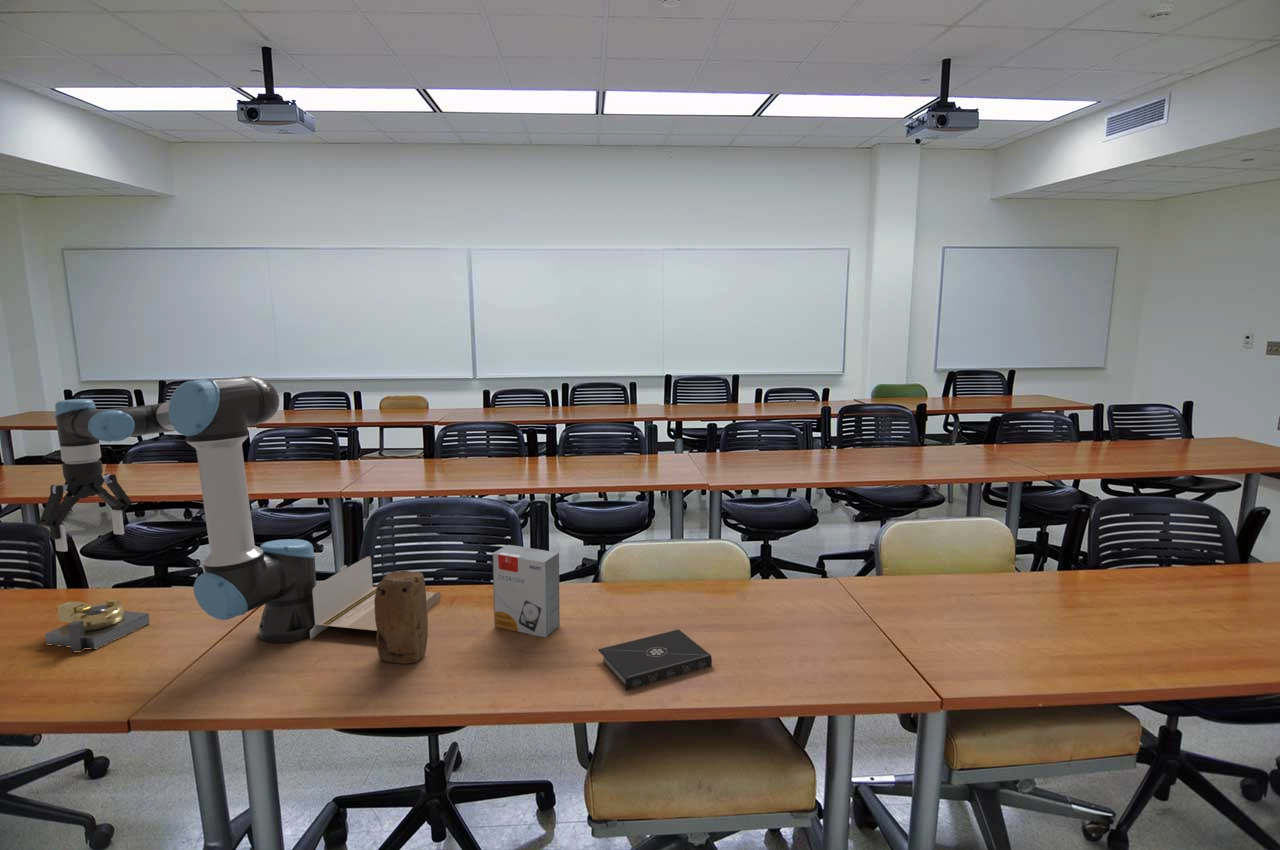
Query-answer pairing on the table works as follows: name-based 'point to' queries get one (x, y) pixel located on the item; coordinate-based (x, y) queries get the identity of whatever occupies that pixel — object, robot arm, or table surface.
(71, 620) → the brass ring with ball
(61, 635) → the housing
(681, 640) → the book
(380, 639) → the block
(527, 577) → the hard drive box
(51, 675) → the table surface
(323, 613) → the box
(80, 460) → the robot arm
